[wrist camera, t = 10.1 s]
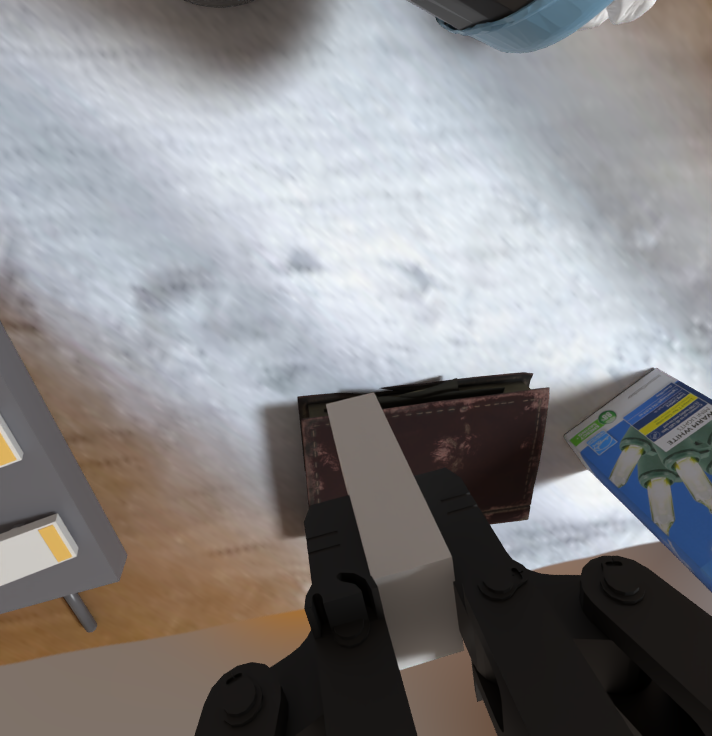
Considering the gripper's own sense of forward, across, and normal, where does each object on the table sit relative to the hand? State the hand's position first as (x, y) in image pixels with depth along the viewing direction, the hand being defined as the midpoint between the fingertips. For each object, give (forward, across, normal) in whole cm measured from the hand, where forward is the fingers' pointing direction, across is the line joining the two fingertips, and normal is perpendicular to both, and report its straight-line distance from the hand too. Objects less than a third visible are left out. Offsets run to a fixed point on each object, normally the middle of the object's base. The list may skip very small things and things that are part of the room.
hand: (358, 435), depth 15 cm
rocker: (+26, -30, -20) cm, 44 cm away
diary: (+31, +8, -25) cm, 40 cm away
